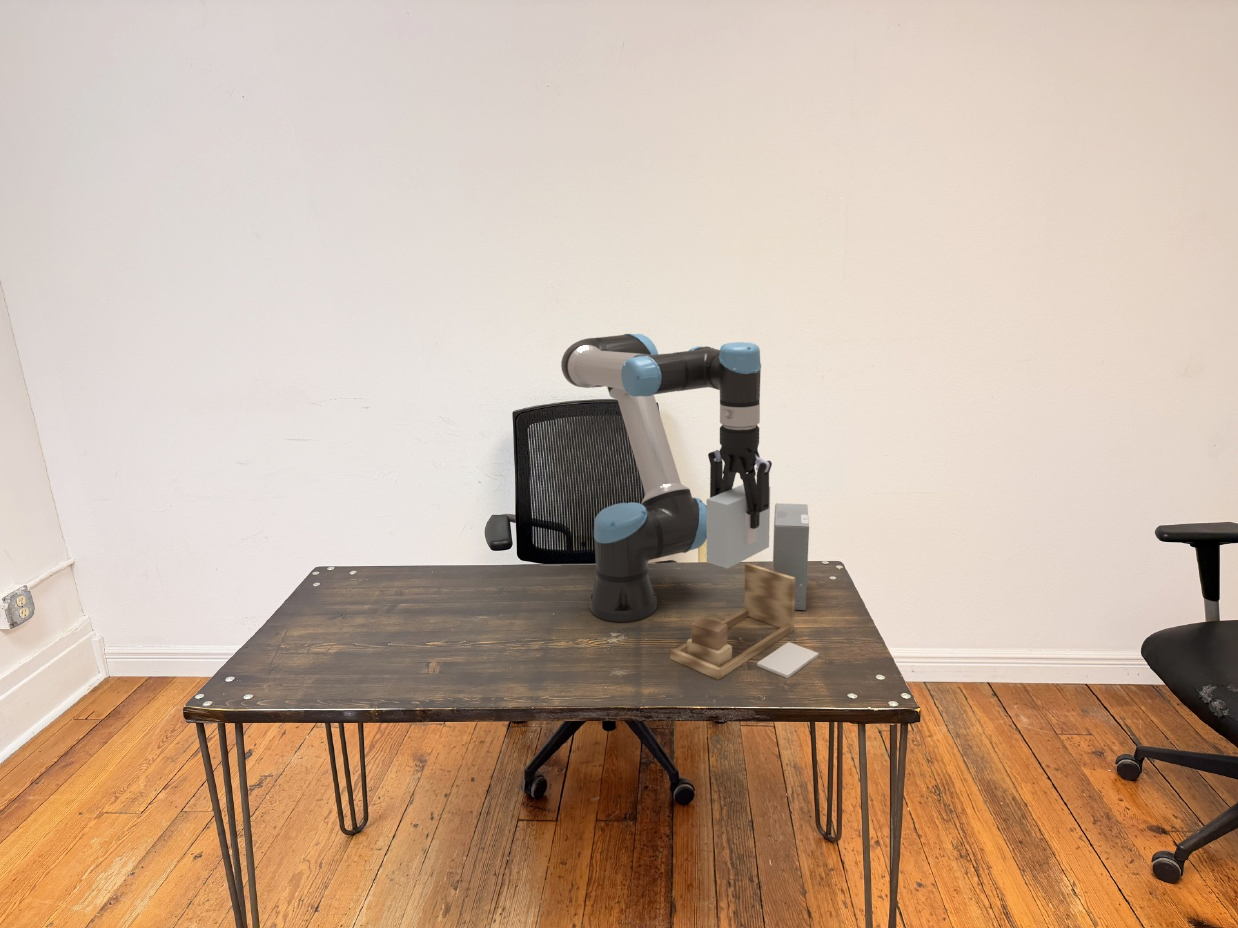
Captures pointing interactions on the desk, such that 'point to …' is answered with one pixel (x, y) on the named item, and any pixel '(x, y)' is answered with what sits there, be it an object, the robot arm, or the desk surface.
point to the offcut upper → (709, 633)
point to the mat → (787, 659)
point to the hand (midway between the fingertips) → (738, 538)
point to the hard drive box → (792, 546)
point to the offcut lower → (710, 653)
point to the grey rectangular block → (733, 529)
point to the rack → (763, 601)
